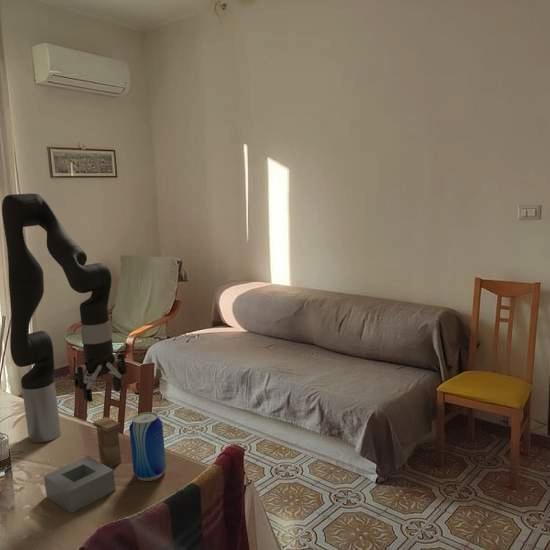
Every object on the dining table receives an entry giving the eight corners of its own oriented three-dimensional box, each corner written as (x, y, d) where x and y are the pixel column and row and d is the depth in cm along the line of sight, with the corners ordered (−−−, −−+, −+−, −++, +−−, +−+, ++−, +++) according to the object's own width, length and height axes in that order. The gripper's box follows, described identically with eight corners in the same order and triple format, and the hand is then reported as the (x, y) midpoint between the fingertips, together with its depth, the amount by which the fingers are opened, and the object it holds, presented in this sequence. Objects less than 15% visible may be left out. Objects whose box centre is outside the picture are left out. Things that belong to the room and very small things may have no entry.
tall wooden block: (97, 462, 149) (93, 422, 147) (110, 456, 152) (105, 416, 150) (111, 470, 145) (107, 428, 143) (124, 463, 148) (120, 423, 146)
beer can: (158, 483, 137) (153, 425, 134) (128, 481, 138) (122, 423, 136) (171, 466, 145) (166, 411, 142) (142, 464, 146) (137, 409, 144)
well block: (46, 496, 134) (43, 475, 133) (90, 475, 143) (87, 456, 142) (71, 513, 126) (68, 492, 125) (115, 490, 135) (113, 469, 134)
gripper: (112, 330, 150) (118, 385, 153) (64, 343, 139) (71, 401, 142) (128, 334, 145) (133, 390, 148) (79, 347, 135) (86, 408, 137)
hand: (103, 396), depth 145 cm, fingers open, 8 cm apart
